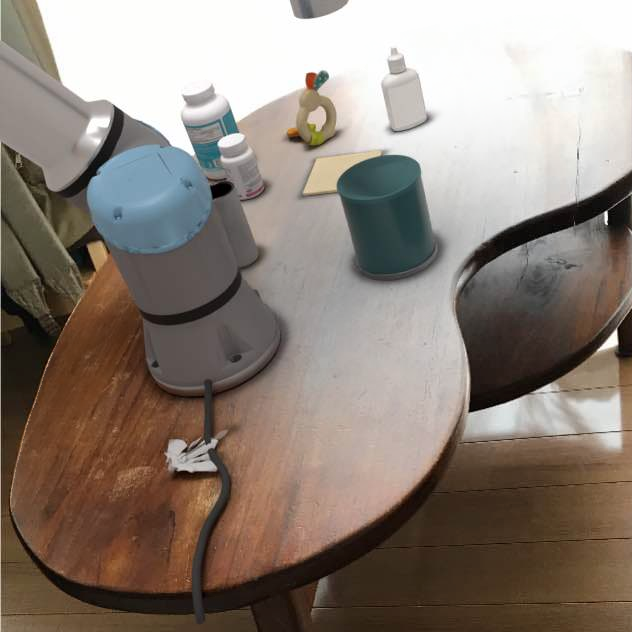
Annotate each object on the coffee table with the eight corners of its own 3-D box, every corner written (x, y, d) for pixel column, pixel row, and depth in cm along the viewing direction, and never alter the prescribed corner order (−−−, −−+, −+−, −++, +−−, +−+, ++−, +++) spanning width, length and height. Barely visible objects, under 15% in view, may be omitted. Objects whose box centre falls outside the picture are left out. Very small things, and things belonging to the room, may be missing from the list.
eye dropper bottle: (425, 128, 131) (410, 50, 123) (389, 133, 132) (371, 56, 125) (428, 114, 134) (414, 38, 126) (393, 119, 135) (376, 44, 128)
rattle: (327, 120, 141) (308, 51, 133) (347, 136, 134) (329, 65, 127) (285, 137, 139) (264, 68, 132) (303, 155, 133) (282, 83, 126)
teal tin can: (433, 276, 102) (415, 194, 95) (350, 283, 104) (327, 204, 97) (441, 228, 109) (426, 149, 102) (364, 236, 112) (344, 159, 105)
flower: (208, 424, 92) (202, 403, 91) (255, 454, 87) (250, 433, 86) (148, 461, 88) (141, 440, 87) (194, 495, 83) (188, 473, 82)
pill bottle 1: (229, 153, 139) (201, 72, 131) (259, 161, 135) (231, 78, 126) (194, 176, 136) (162, 95, 128) (223, 185, 131) (192, 102, 123)
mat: (371, 188, 121) (370, 185, 120) (303, 196, 123) (302, 193, 123) (382, 152, 128) (381, 150, 128) (317, 160, 131) (316, 158, 130)
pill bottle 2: (267, 181, 129) (250, 129, 124) (261, 198, 126) (243, 145, 120) (237, 186, 130) (218, 134, 125) (230, 202, 127) (211, 150, 121)
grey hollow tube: (253, 267, 112) (227, 198, 105) (221, 269, 113) (193, 201, 107) (263, 247, 115) (238, 178, 109) (231, 249, 117) (205, 182, 110)
